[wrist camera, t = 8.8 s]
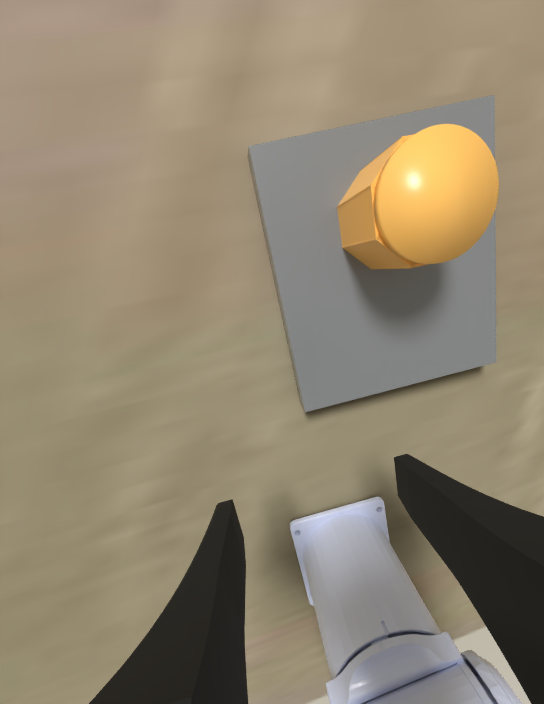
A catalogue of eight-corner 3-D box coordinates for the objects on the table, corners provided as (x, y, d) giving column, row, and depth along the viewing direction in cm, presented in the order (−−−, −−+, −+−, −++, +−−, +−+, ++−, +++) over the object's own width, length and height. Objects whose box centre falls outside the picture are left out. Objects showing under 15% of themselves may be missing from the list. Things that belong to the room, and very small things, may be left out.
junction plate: (479, 356, 22) (535, 375, 18) (300, 402, 22) (315, 433, 17) (473, 109, 18) (545, 60, 14) (247, 156, 17) (251, 119, 13)
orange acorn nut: (429, 256, 18) (498, 250, 14) (345, 274, 18) (385, 275, 13) (424, 158, 17) (499, 112, 12) (332, 176, 16) (372, 136, 12)
